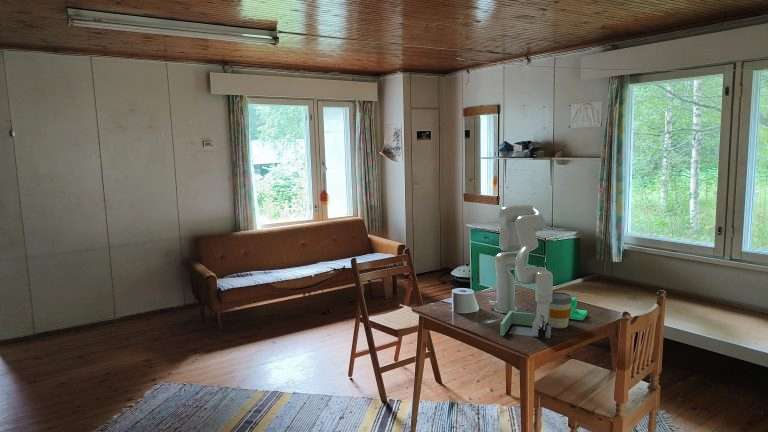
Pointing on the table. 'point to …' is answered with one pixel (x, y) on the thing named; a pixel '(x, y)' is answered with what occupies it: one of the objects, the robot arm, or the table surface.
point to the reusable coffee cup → (560, 309)
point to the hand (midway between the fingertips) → (543, 333)
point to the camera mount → (576, 311)
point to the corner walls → (516, 320)
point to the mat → (521, 331)
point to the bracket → (535, 329)
